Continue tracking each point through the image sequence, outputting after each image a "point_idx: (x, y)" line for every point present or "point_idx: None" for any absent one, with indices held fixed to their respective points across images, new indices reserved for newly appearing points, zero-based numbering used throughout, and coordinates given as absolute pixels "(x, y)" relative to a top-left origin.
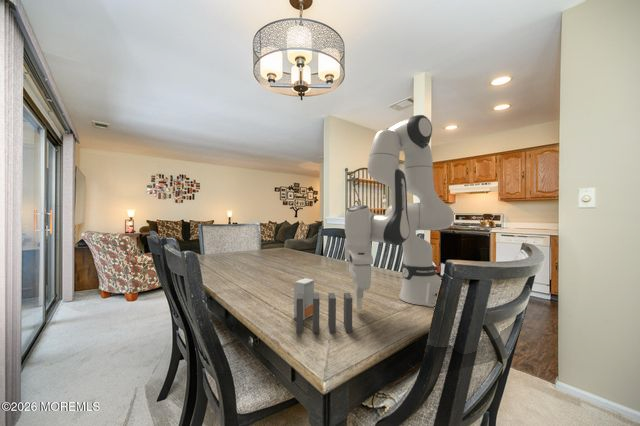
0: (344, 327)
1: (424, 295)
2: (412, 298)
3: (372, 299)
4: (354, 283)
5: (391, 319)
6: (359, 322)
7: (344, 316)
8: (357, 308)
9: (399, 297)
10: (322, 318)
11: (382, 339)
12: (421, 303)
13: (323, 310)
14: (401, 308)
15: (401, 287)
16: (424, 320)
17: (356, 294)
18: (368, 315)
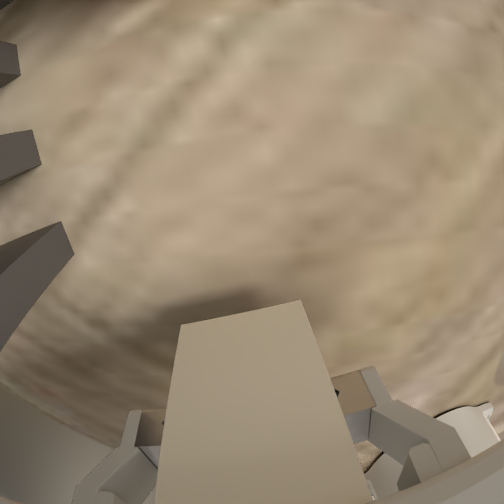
0: (33, 232)
1: (380, 496)
2: (397, 463)
3: (464, 330)
4: (329, 456)
5: None
6: (128, 305)
7: (1, 259)
8: (183, 330)
9: (447, 413)
10: (120, 57)
11: (27, 380)
12: (373, 470)
13: (278, 33)
14: None
15: (468, 441)
16: None
17: (182, 409)
18: None
